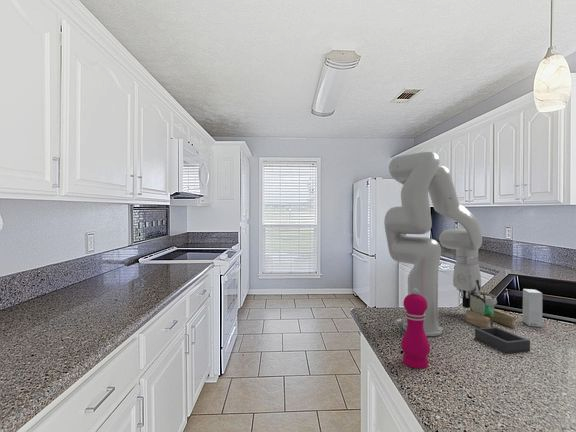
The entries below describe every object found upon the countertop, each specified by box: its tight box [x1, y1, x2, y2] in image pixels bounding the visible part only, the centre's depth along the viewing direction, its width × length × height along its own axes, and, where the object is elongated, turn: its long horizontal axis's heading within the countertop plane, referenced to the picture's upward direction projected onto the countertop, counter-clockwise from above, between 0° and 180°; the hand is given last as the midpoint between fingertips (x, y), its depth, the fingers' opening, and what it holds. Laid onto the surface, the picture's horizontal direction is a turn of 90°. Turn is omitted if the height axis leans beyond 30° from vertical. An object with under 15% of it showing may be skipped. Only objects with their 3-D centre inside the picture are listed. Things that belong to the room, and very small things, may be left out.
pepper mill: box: [400, 288, 431, 370], centre depth 89 cm, size 7×7×20 cm
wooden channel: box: [465, 308, 516, 329], centre depth 120 cm, size 11×10×4 cm
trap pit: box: [474, 326, 531, 354], centre depth 102 cm, size 8×12×3 cm, turn 12°
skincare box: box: [522, 288, 543, 328], centre depth 120 cm, size 6×4×12 cm
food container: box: [469, 291, 498, 327], centre depth 122 cm, size 12×6×10 cm, turn 177°
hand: (467, 307), depth 132 cm, fingers closed
